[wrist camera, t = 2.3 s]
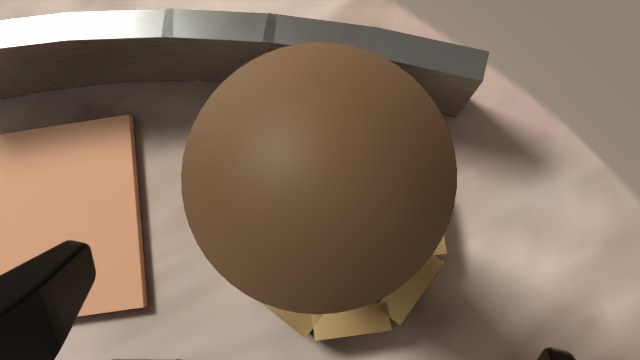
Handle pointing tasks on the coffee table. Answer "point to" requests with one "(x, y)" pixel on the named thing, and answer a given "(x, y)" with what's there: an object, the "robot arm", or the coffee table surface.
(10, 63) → the gray curved bar
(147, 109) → the coffee table surface
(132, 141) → the tile
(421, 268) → the brown cylinder
